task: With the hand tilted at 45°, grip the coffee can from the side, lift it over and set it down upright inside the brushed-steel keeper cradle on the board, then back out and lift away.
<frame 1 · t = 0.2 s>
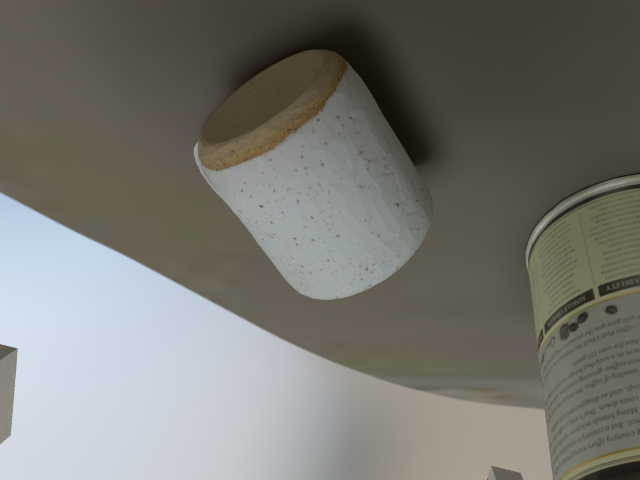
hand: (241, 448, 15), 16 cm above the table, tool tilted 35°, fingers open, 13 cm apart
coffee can: (629, 245, 28), on the table
ceramic mug: (308, 135, 26), on the table
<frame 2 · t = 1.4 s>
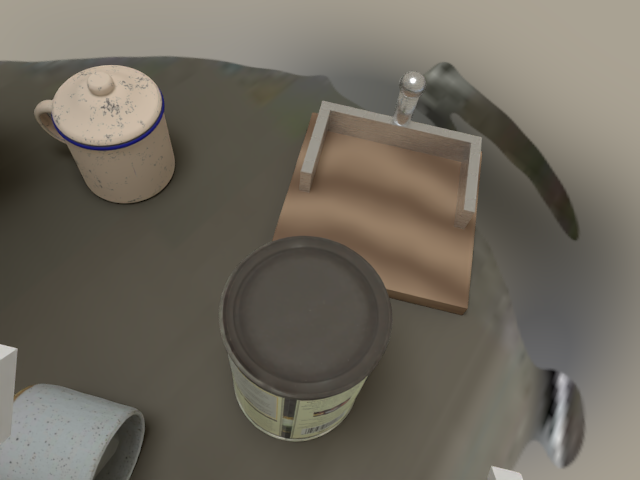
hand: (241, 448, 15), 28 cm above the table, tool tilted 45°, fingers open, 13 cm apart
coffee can: (295, 376, 44), on the table
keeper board: (380, 209, 53), on the table
ceramic mug: (76, 477, 39), on the table
teacup with lid: (116, 166, 53), on the table
keeper cradle: (398, 139, 50), on the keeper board, point 6 cm above the table
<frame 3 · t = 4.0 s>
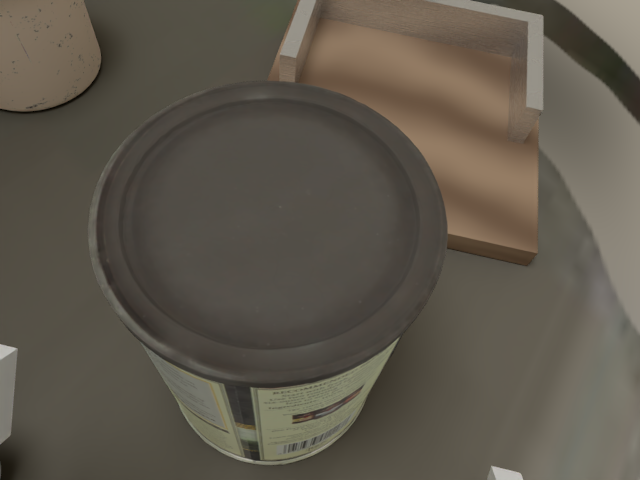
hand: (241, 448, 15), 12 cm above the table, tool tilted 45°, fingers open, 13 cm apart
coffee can: (272, 360, 28), on the table
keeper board: (397, 122, 37), on the table
teacup with lid: (17, 65, 37), on the table
keeper cradle: (425, 9, 34), on the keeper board, point 6 cm above the table
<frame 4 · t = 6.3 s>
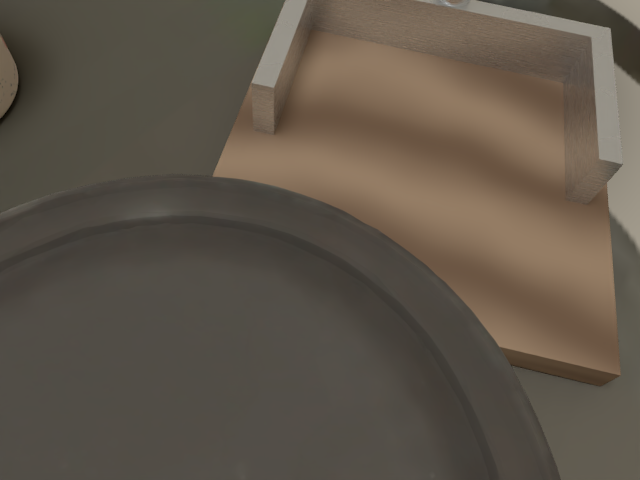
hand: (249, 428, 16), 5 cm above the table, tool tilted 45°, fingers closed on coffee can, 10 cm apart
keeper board: (413, 170, 27), on the table
keeper cradle: (454, 20, 24), on the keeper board, point 6 cm above the table
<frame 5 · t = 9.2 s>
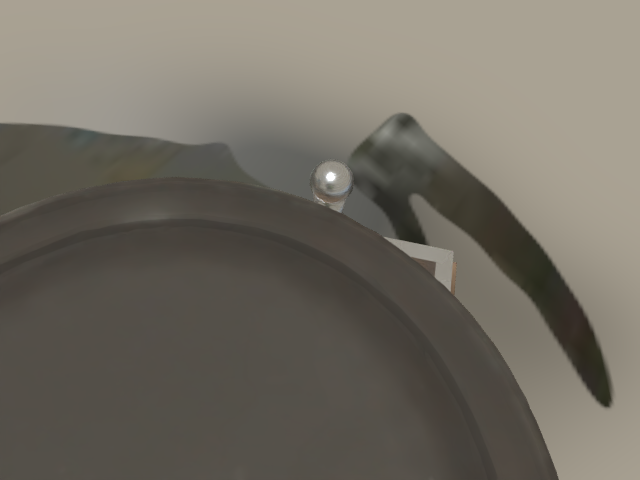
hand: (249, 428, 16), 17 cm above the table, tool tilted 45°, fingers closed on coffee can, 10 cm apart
keeper cradle: (314, 270, 30), on the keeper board, point 6 cm above the table
when the fingers open (8 cm above the table, at t = 12.0 s): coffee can drops 2 cm, resting on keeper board.
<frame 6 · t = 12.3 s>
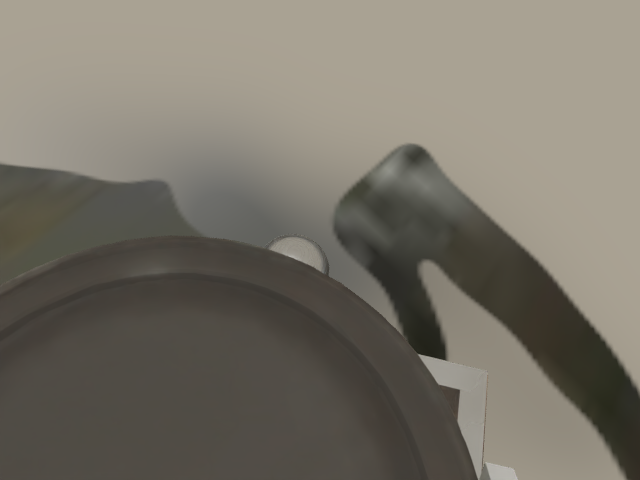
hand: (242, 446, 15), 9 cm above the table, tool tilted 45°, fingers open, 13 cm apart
keeper cradle: (261, 412, 18), on the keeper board, point 6 cm above the table
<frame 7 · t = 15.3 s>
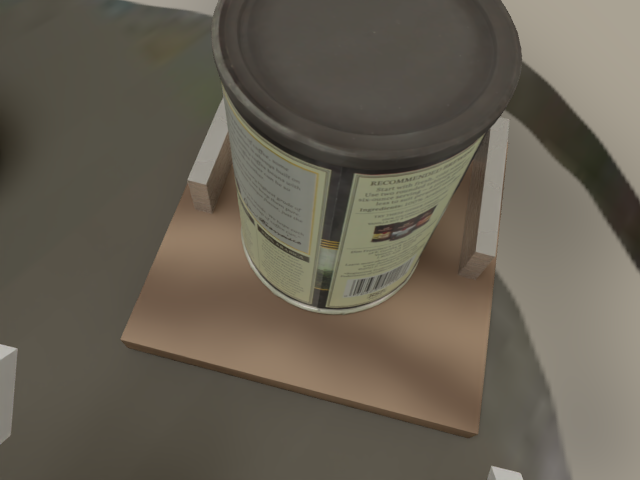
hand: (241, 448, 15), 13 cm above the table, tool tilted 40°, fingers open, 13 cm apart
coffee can: (330, 230, 31), point 1 cm above the table, touching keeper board
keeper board: (335, 240, 32), on the table
keeper cradle: (363, 123, 28), on the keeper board, point 6 cm above the table
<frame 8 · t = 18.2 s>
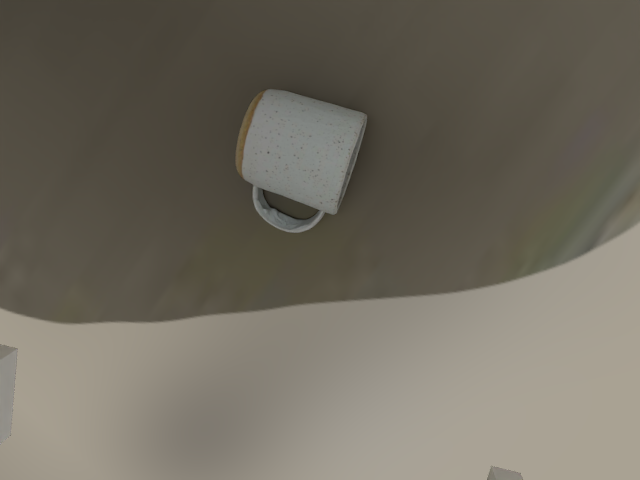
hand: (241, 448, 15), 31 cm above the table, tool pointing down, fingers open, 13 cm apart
ceramic mug: (306, 163, 44), on the table
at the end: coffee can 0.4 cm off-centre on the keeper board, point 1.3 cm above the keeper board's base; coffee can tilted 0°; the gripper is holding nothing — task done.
